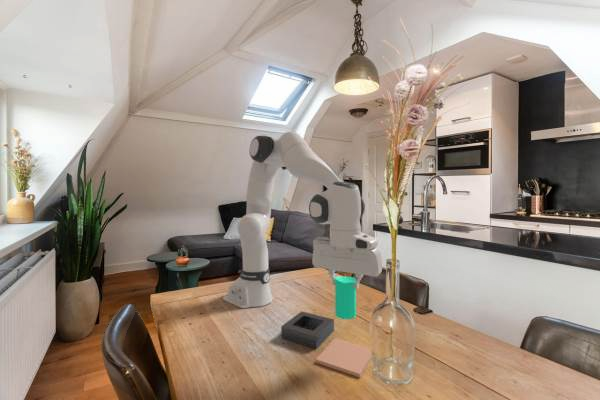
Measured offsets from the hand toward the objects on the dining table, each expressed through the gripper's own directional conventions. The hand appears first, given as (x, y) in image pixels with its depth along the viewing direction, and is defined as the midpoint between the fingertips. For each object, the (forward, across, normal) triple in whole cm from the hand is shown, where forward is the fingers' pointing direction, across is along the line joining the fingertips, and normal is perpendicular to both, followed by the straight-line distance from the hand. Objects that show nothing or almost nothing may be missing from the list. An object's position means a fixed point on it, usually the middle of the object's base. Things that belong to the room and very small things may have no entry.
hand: (345, 286), depth 83 cm
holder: (+21, -16, +6) cm, 27 cm away
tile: (+21, 0, 0) cm, 21 cm away
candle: (+8, 0, 0) cm, 8 cm away
